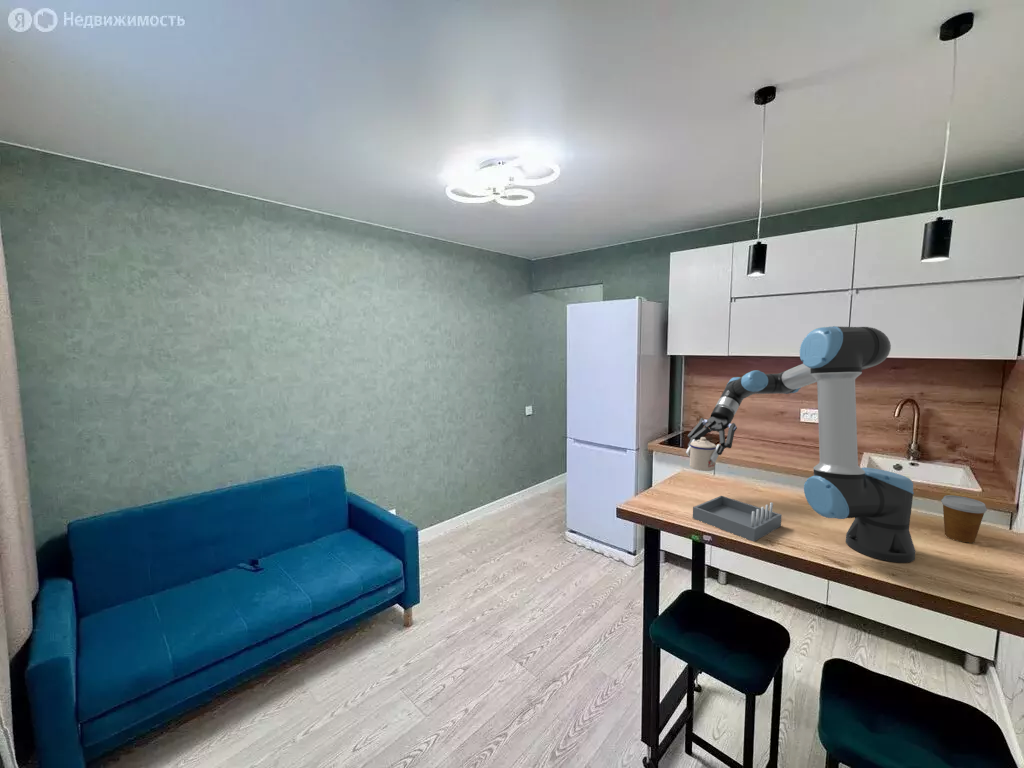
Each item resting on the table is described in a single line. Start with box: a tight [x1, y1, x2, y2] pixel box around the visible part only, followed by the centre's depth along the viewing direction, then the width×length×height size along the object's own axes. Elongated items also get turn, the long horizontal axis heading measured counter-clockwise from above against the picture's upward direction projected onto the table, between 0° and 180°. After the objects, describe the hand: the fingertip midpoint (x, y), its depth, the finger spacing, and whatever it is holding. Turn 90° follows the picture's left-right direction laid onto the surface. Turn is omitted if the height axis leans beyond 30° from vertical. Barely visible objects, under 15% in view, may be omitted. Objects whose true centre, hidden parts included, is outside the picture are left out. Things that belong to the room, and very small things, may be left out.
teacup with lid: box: [689, 436, 717, 472], centre depth 157 cm, size 12×9×12 cm
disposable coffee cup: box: [940, 494, 988, 544], centre depth 127 cm, size 10×10×12 cm
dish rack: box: [692, 495, 783, 543], centre depth 138 cm, size 20×18×8 cm
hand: (699, 457), depth 155 cm, fingers closed on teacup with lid, 9 cm apart
